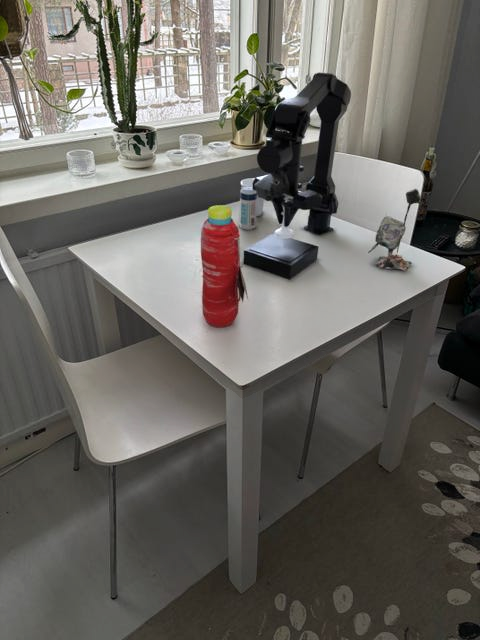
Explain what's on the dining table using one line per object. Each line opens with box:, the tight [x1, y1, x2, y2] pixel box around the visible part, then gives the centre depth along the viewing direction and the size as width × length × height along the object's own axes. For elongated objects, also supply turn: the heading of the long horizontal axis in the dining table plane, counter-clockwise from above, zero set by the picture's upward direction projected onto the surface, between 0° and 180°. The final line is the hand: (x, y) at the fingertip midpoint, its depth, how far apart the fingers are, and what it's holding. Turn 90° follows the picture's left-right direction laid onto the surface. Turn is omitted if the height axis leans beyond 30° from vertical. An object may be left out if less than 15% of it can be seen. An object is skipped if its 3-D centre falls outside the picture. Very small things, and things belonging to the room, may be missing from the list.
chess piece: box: [274, 196, 295, 238], centre depth 121 cm, size 5×5×10 cm
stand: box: [242, 232, 319, 281], centre depth 126 cm, size 14×14×4 cm
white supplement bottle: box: [239, 186, 257, 231], centre depth 143 cm, size 5×5×12 cm
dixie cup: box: [240, 177, 265, 217], centre depth 154 cm, size 8×8×10 cm
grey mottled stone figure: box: [367, 188, 422, 272], centre depth 122 cm, size 8×11×20 cm
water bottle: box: [200, 204, 249, 328], centre depth 96 cm, size 12×8×25 cm, turn 51°
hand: (283, 225), depth 122 cm, fingers closed on chess piece
